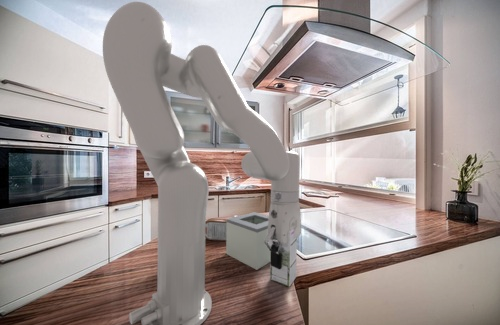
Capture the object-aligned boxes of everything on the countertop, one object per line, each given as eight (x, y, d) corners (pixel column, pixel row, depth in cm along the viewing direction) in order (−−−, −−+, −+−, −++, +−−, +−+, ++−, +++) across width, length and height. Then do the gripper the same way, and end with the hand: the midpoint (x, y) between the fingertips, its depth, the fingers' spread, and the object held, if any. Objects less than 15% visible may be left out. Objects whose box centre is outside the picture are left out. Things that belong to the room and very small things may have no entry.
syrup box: (297, 276, 54) (297, 224, 54) (289, 288, 49) (290, 231, 49) (278, 270, 57) (278, 221, 57) (269, 280, 52) (270, 226, 52)
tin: (239, 239, 80) (239, 219, 80) (238, 242, 77) (238, 221, 77) (203, 237, 81) (203, 217, 81) (200, 240, 78) (201, 219, 78)
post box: (256, 269, 57) (257, 229, 57) (226, 253, 67) (226, 219, 67) (283, 254, 68) (283, 219, 68) (253, 242, 77) (254, 211, 77)
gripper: (277, 203, 44) (276, 281, 44) (312, 194, 57) (311, 256, 57) (253, 198, 50) (252, 269, 50) (289, 191, 62) (288, 247, 62)
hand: (283, 261), depth 53 cm, fingers closed on syrup box, 6 cm apart
